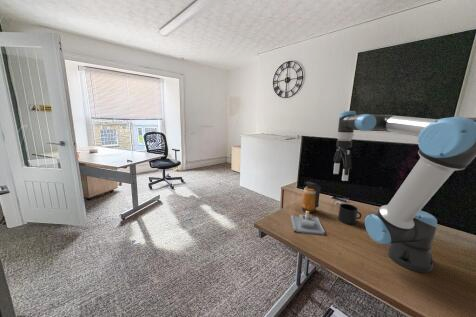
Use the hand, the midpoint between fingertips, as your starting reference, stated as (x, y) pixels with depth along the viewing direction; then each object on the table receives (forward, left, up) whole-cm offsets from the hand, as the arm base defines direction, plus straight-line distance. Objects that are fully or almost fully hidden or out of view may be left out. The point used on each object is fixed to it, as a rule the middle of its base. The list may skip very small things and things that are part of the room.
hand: (340, 177), depth 110 cm
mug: (+3, -9, -29) cm, 30 cm away
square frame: (-7, +18, -28) cm, 33 cm away
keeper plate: (-7, +18, -29) cm, 34 cm away
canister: (+13, +12, -29) cm, 34 cm away
